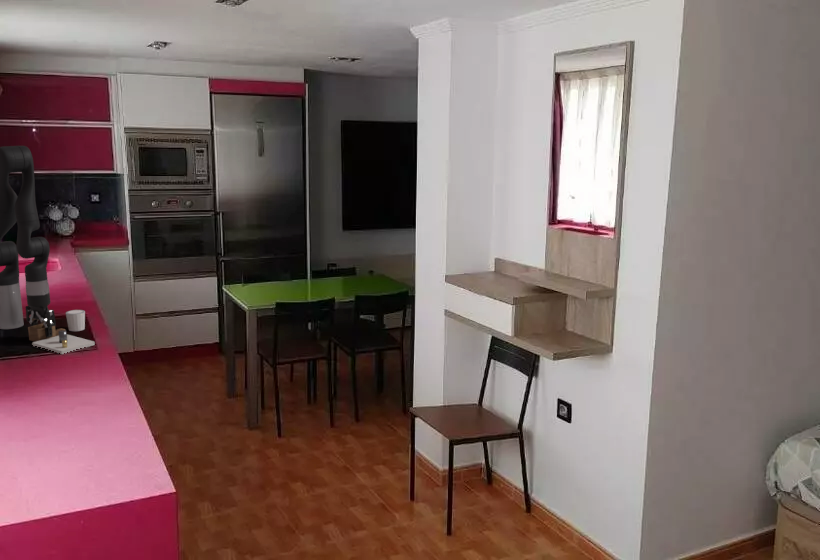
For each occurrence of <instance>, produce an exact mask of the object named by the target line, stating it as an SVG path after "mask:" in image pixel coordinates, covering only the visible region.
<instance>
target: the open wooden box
mask: <svg viewBox="0 0 820 560" xmlns="http://www.w3.org/2000/svg"><path fill="white" fill-rule="evenodd" d="M27 330H28V340H29V341H31V342H36V341H40V340H44V339H48V338H47V337H46V334H45V326H44V324H43V323H38V325H34V326H31V325H30V326H28V327H27ZM62 330H65V331H66V329H65V328H57V329H56V325H55V326H52V335H53V336H52V337H55V336H59V331H62ZM49 338H51V337H49Z"/></svg>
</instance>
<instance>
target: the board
mask: <svg viewBox="0 0 820 560" xmlns="http://www.w3.org/2000/svg"><path fill="white" fill-rule="evenodd" d="M95 344H96V343H95V341H94V340H90V339H85V338H82V337H77V336H75V335H72V334H67V348H62V343H60V342H59V336H55V337H51V338H48V339H44V340H40V341H36V342H34V341H32V343H31V345H33V346H32V347H35V346H37V347H36V348H38V347H41V348H40V349H42V348H45V349H48V350H47V351H49V350H51V351H50V352H52V351H54V352H53V353H55V352H57V353H56V354H59V353H60V355H64V353H65V354H67V352H68V353H71V352H70V351H72V352H74V351H73V350H75V351H77V350H76V349H79V350H81V349H80V348H82V349H85V348H84V347H86V348H89V347H92V346H95ZM45 349H44V350H45Z"/></svg>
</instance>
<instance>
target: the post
mask: <svg viewBox="0 0 820 560" xmlns="http://www.w3.org/2000/svg"><path fill="white" fill-rule="evenodd" d="M62 340H67V330H66V329H65V330H62V331H59V342H60V343H62Z"/></svg>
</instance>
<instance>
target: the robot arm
mask: <svg viewBox="0 0 820 560" xmlns="http://www.w3.org/2000/svg"><path fill="white" fill-rule="evenodd" d="M12 173H13V174H15V173H21V177H22V182H21V183H22V184H21V187H20V191H19V193H18V195H17V193H16V192H15V191H14V189H13V188H12V186H11V184H10V183H9V182H10V181H9V177H10V176H9V175H10V174H12ZM35 180H36V179H35V165H34V158H33V154H32V152H31V150H30V148H29V147H28V146H26V145H10V146H9V145H8V146H7V145H6V146H5V145H4V146H0V267H4V269H3V270H2V271H0V330H13V329H18V328H22V327H23V326H24V315H23V314H24V313H23V305H22V304H23V303H22V295H21V294H22V293H21V285H20V264H19V263H20V262H19V261H20V260H19V259H20V258H19V257H21V258H22V259H32V258H34V259H33V261H32V262H30V263H28V264H27V265H25V266H24V275H25V293H26V303H27V305H26V306H25V317H26V322H29V324H30V326H34V325H38V324H39V322H38V321H40V324H42V323H43V324H44V326H45V334H46V337H47V338H49V337H52V336H53V335H52V326H55V327H56V325H57V322H56V315H55V310H54V309H49V307H48V306H49V305H50V304H51V293H50V285H49V280H48V270H47V267H48V261H49V257H50V251H51V249H50V243H49V241H48V240H47V239H46V237H44V236H36V237H35V236H34V237H31V236H32V233H33V232H35V231H37V230H39V229H40V227H41V224H40V219H39V214H38V208H37V203H36V186H35V183H36V181H35ZM15 224H16V225H17V234H16V236H17V237H16V243H15V241H12V240H8V241H2V239H3V238H4V236H5V235H6V234H7V233H8V232H9V231H10V229H12V228H13V226H15Z"/></svg>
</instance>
